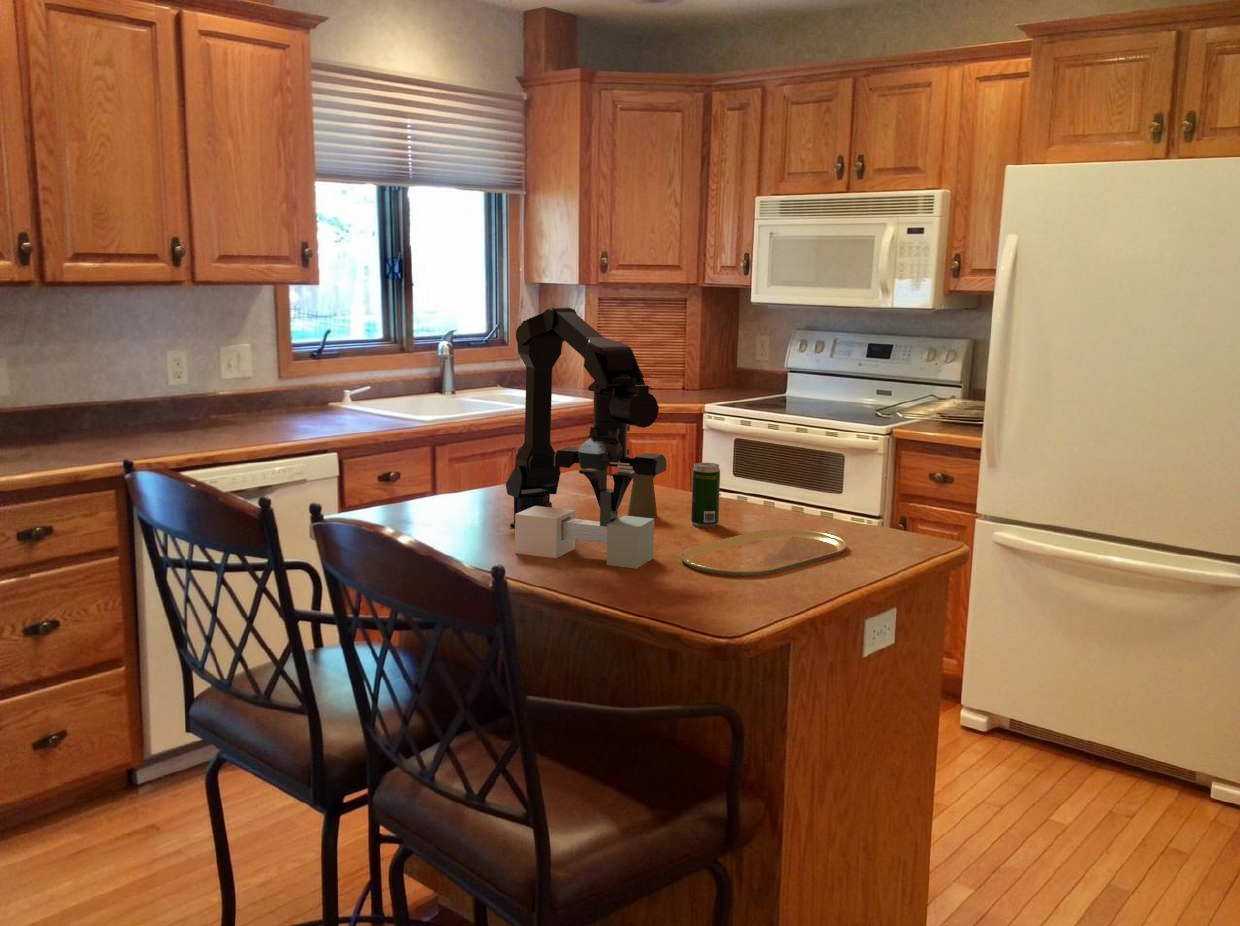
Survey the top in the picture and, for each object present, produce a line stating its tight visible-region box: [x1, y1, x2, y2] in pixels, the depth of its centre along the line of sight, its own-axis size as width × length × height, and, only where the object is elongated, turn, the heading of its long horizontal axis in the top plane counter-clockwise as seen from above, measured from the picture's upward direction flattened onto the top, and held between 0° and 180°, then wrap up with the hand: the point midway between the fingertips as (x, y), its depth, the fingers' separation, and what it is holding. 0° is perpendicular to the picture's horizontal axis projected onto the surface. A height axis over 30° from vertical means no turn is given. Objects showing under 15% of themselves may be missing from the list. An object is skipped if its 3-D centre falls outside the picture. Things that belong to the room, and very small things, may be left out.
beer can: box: [690, 462, 721, 529], centre depth 212 cm, size 5×5×12 cm
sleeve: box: [514, 506, 576, 559], centre depth 191 cm, size 8×8×7 cm
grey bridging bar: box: [561, 487, 619, 545], centre depth 186 cm, size 15×3×9 cm, turn 67°
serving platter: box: [680, 528, 848, 577], centre depth 191 cm, size 19×35×2 cm, turn 133°
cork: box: [627, 474, 658, 519], centre depth 219 cm, size 6×6×11 cm
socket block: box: [606, 515, 655, 569], centre depth 184 cm, size 6×8×7 cm
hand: (608, 510), depth 185 cm, fingers closed on grey bridging bar, 2 cm apart
